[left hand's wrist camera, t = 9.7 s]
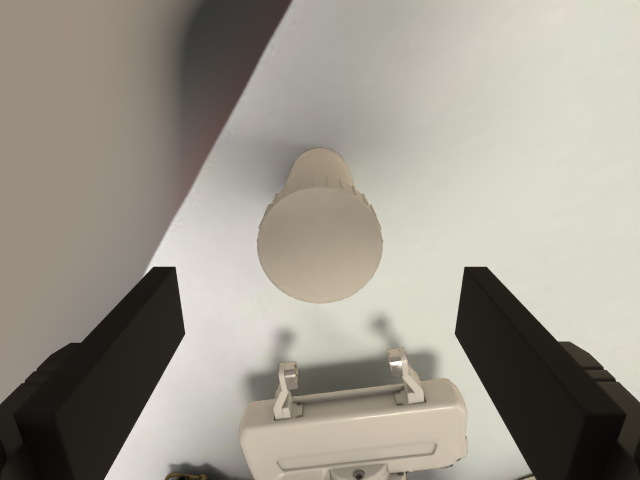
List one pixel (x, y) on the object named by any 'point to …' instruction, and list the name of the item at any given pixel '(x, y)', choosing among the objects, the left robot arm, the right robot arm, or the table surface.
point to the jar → (320, 166)
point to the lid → (319, 240)
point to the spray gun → (186, 476)
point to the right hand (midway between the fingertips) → (341, 359)
